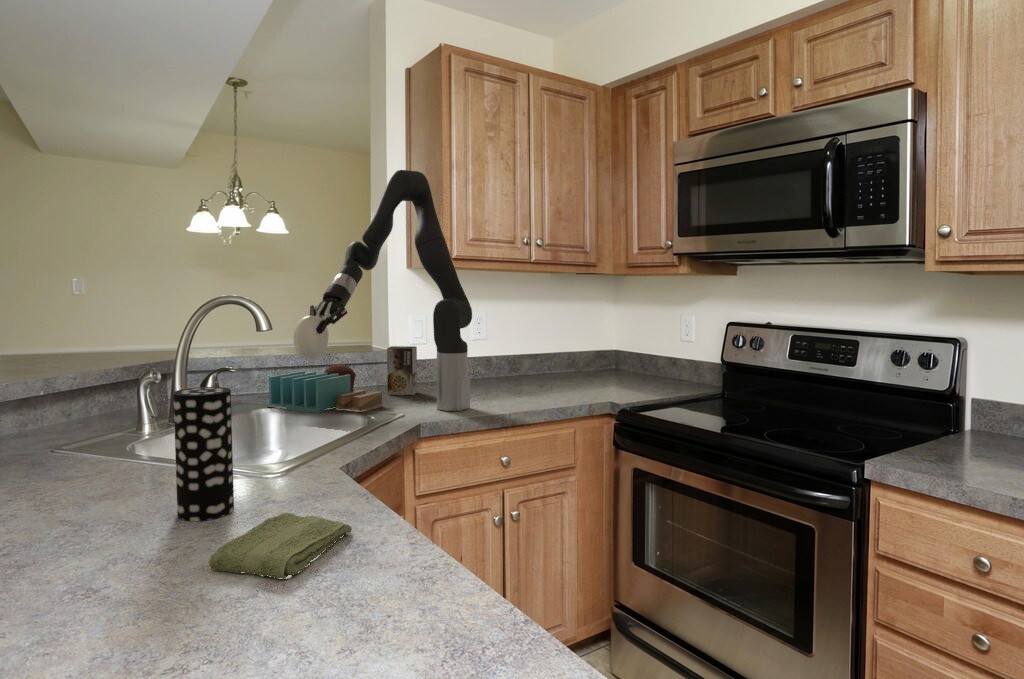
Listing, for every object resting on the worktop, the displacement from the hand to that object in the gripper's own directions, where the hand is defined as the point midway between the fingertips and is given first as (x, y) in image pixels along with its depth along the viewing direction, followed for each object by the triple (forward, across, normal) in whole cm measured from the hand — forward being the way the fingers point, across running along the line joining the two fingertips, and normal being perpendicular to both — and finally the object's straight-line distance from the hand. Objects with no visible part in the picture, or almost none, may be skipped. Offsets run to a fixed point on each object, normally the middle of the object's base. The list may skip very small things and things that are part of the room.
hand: (315, 331), depth 193 cm
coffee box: (-6, +11, +38) cm, 40 cm away
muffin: (+2, -7, +31) cm, 32 cm away
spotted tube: (+73, +45, -40) cm, 94 cm away
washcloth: (+77, +67, -45) cm, 112 cm away
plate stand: (+14, +14, +18) cm, 27 cm away
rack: (+16, -2, +16) cm, 23 cm away
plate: (+2, 0, 0) cm, 2 cm away
